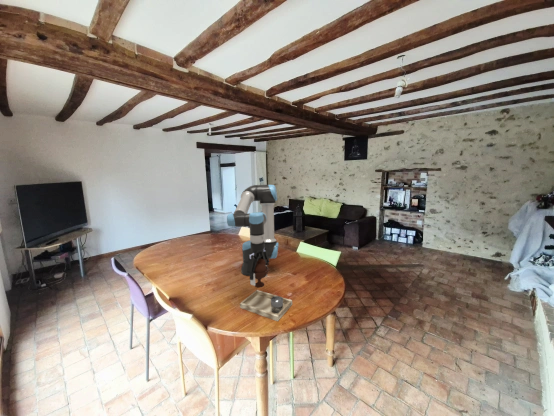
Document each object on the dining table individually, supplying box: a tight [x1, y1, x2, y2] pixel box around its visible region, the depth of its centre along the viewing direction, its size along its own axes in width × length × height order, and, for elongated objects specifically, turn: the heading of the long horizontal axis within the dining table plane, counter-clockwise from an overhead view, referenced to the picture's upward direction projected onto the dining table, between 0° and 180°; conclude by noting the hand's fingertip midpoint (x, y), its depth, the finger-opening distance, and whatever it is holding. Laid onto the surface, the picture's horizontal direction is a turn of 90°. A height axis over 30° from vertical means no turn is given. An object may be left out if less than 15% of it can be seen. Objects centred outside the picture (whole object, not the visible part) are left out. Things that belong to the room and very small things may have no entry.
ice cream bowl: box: [254, 258, 270, 289], centre depth 123 cm, size 11×11×15 cm
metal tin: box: [271, 295, 284, 313], centre depth 120 cm, size 6×6×6 cm
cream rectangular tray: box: [239, 289, 293, 322], centre depth 124 cm, size 24×16×4 cm, turn 60°
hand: (259, 280), depth 124 cm, fingers closed on ice cream bowl, 11 cm apart
